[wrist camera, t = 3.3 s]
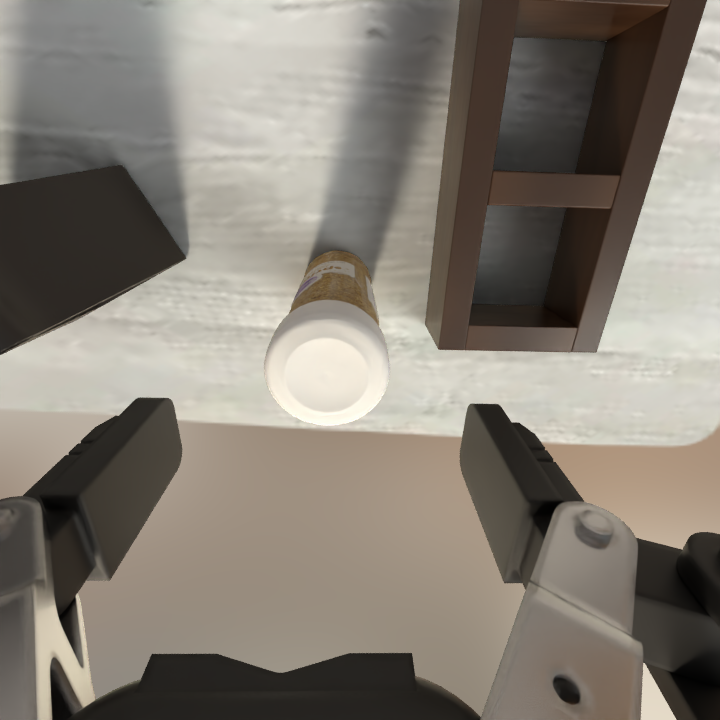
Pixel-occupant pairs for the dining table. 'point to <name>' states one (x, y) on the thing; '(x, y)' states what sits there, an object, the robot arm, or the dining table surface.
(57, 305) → the phone stand
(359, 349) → the sprinkles bottle
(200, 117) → the dining table surface
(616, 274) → the holder
